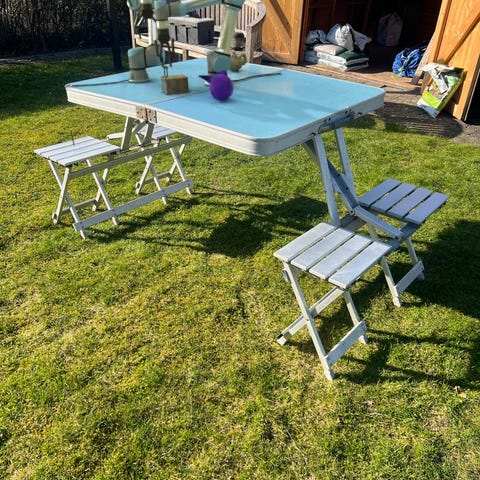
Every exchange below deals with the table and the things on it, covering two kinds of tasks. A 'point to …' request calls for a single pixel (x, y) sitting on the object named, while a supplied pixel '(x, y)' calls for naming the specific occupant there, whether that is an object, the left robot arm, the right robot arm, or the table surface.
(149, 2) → the left robot arm
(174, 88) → the chest
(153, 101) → the table surface
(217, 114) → the table surface
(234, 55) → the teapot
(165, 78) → the lid
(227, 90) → the toy
